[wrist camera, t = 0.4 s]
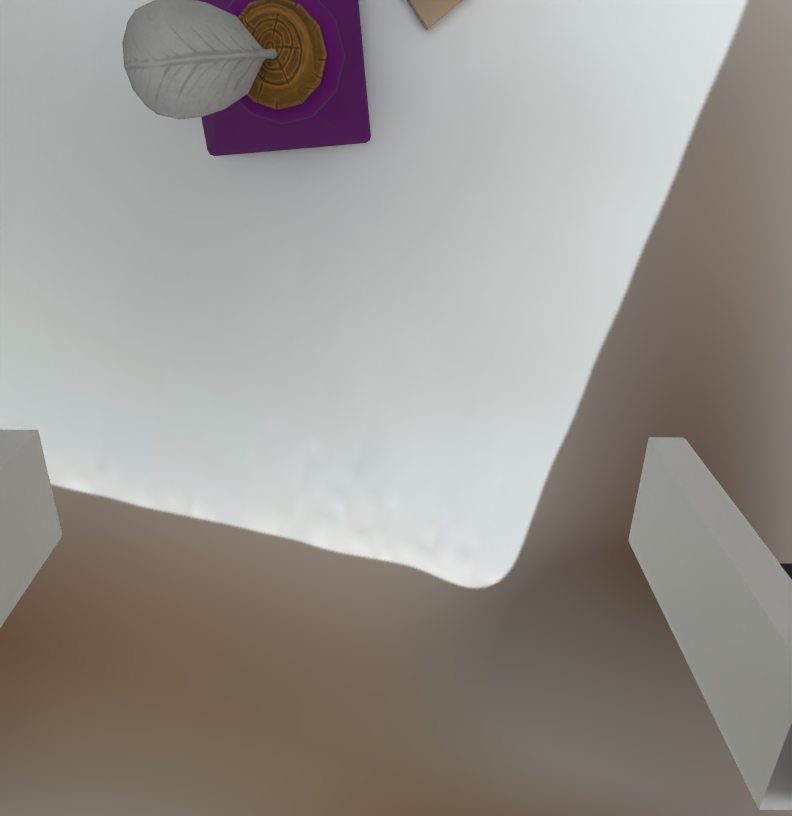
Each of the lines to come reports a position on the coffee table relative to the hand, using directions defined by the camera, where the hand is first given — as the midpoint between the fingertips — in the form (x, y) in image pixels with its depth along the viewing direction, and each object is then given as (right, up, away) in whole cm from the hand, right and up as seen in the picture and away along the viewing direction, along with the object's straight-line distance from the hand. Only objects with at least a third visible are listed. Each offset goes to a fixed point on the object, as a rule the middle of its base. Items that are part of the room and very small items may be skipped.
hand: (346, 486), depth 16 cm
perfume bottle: (-4, +18, +19) cm, 26 cm away
